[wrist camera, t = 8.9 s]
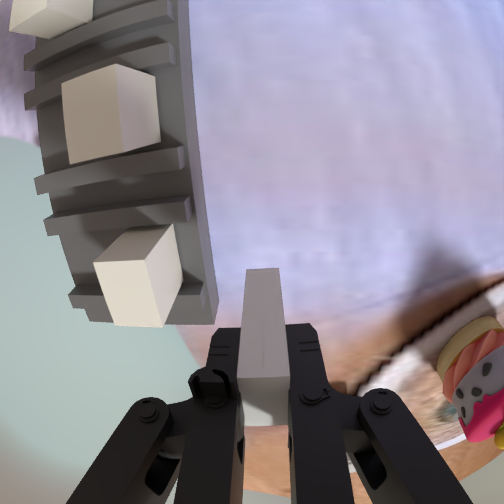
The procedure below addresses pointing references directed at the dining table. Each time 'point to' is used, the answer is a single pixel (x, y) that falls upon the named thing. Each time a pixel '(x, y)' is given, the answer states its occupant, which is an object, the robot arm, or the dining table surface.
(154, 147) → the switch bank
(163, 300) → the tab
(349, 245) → the dining table surface
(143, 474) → the robot arm
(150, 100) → the tab middle
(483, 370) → the cake
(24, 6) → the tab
